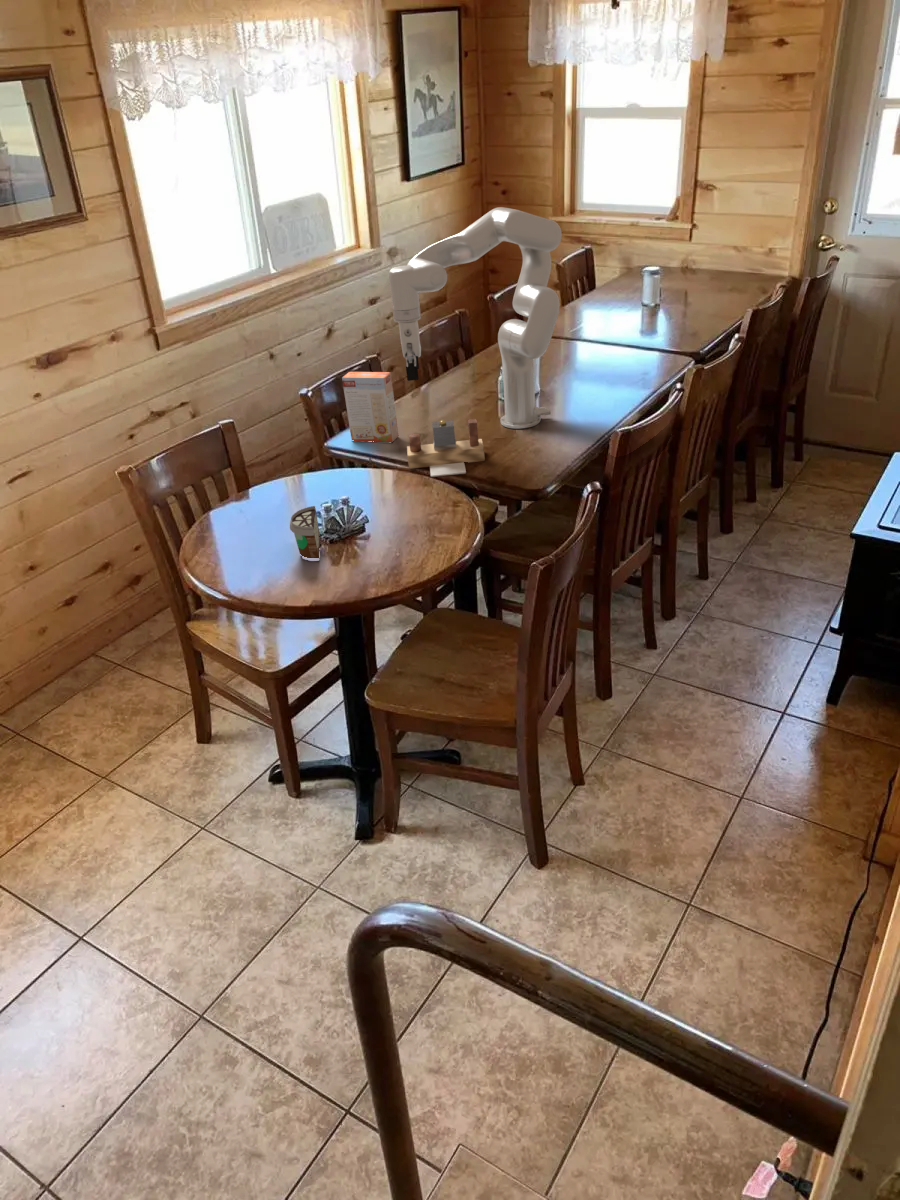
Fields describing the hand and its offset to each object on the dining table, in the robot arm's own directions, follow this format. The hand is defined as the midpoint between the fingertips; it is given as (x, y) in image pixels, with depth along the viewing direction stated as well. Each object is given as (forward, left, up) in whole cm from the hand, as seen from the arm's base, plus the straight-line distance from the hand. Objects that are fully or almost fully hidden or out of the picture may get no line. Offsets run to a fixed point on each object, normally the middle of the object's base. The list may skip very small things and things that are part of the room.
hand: (413, 374), depth 256 cm
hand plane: (-7, +8, -24) cm, 26 cm away
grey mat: (-7, +15, -24) cm, 29 cm away
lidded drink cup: (+30, +57, -24) cm, 69 cm away
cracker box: (+14, -14, -24) cm, 31 cm away
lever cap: (-7, +8, -18) cm, 21 cm away
